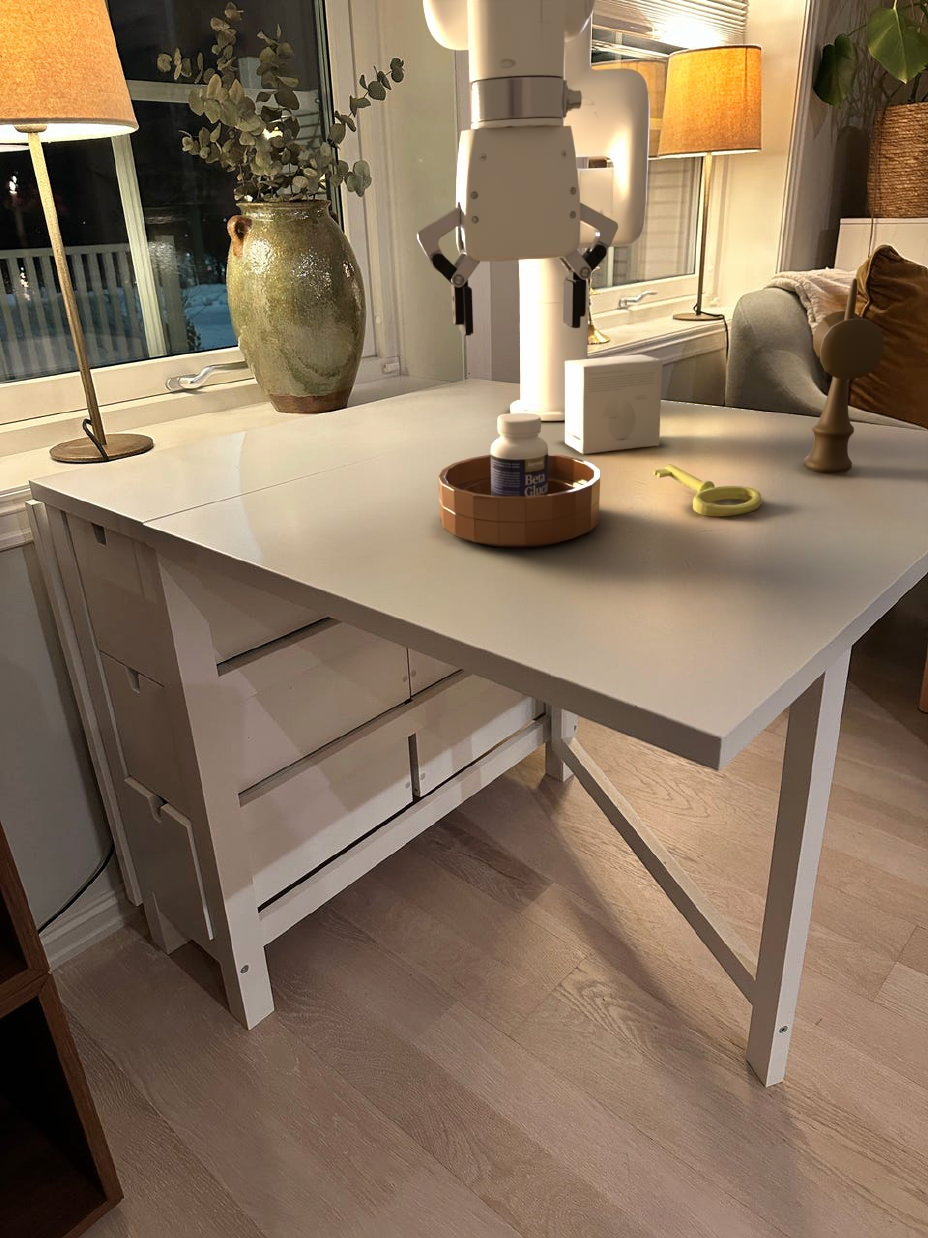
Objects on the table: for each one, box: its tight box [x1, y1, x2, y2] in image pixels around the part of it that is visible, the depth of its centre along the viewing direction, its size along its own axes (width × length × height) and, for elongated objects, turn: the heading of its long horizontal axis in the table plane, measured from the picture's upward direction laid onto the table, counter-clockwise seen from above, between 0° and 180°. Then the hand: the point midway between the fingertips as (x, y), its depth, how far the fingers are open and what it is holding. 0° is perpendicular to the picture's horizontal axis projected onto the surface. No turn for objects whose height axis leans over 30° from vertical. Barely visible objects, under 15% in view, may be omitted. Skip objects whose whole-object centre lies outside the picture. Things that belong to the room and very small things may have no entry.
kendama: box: [803, 278, 885, 474], centre depth 94 cm, size 6×10×20 cm, turn 167°
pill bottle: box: [490, 412, 549, 496], centre depth 84 cm, size 5×5×10 cm
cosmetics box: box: [564, 353, 664, 455], centre depth 109 cm, size 10×6×10 cm, turn 105°
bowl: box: [437, 453, 601, 548], centre depth 85 cm, size 15×15×5 cm
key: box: [652, 463, 762, 517], centre depth 90 cm, size 7×12×2 cm, turn 44°
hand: (519, 329), depth 79 cm, fingers open, 9 cm apart
